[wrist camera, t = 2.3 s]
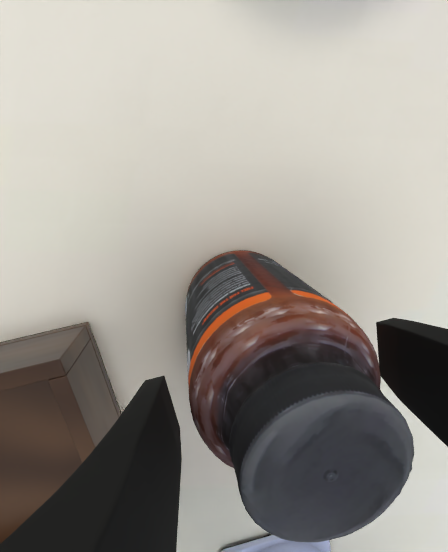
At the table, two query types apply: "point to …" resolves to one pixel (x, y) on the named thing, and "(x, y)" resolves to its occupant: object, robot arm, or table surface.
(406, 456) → the supplement bottle
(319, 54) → the table surface
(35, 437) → the crate
